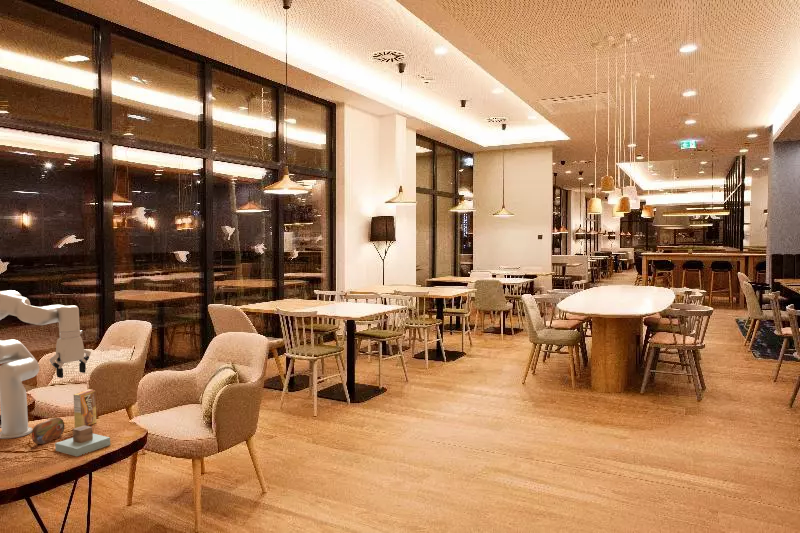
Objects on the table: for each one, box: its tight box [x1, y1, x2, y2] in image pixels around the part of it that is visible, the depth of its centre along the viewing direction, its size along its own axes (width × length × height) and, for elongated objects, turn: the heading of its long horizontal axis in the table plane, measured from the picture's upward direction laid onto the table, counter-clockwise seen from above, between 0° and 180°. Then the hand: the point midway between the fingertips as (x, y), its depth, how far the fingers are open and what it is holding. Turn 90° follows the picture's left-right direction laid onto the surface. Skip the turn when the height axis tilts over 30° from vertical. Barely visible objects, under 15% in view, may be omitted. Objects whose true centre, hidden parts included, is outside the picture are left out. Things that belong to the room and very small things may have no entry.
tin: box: [31, 417, 65, 445], centre depth 242 cm, size 15×3×8 cm, turn 168°
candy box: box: [73, 388, 97, 428], centre depth 261 cm, size 9×4×15 cm, turn 167°
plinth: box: [54, 433, 111, 457], centre depth 233 cm, size 14×14×3 cm
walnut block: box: [72, 425, 94, 443], centre depth 233 cm, size 5×5×5 cm
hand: (71, 374), depth 246 cm, fingers open, 9 cm apart
